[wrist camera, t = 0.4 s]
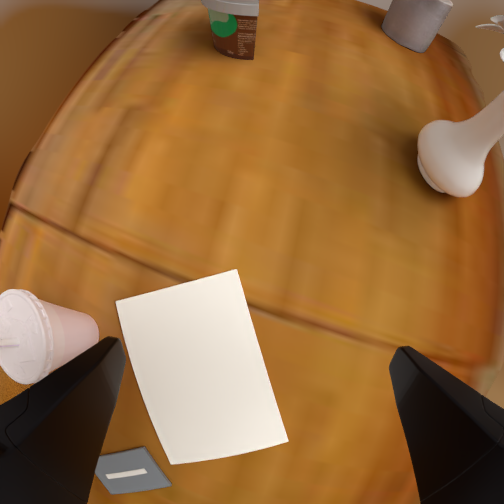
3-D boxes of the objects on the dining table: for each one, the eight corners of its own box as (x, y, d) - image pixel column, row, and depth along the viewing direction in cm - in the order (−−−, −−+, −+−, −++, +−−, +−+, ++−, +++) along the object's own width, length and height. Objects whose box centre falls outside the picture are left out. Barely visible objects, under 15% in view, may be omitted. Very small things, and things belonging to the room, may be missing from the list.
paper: (287, 439, 20) (288, 441, 20) (171, 462, 19) (170, 464, 19) (236, 269, 23) (236, 268, 23) (117, 301, 22) (115, 301, 22)
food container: (205, 25, 30) (201, -27, 21) (246, 22, 31) (248, -29, 21) (204, 69, 28) (197, 4, 18) (254, 66, 28) (259, 1, 19)
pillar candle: (398, 23, 35) (421, -26, 20) (433, 52, 33) (463, 3, 19) (371, 24, 33) (393, -34, 19) (410, 55, 32) (443, -3, 17)
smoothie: (96, 379, 20) (-10, 419, 7) (50, 340, 21) (-58, 345, 7) (122, 322, 22) (7, 326, 8) (73, 285, 22) (-40, 257, 8)
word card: (172, 483, 18) (170, 486, 18) (112, 492, 17) (111, 494, 17) (144, 446, 19) (143, 448, 19) (87, 457, 18) (85, 459, 18)
